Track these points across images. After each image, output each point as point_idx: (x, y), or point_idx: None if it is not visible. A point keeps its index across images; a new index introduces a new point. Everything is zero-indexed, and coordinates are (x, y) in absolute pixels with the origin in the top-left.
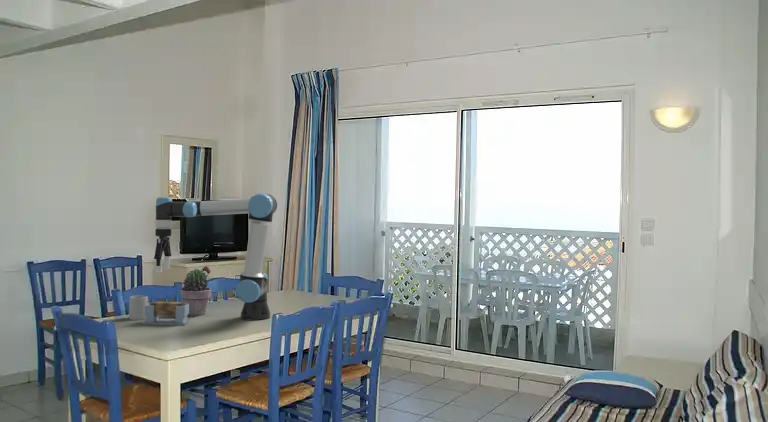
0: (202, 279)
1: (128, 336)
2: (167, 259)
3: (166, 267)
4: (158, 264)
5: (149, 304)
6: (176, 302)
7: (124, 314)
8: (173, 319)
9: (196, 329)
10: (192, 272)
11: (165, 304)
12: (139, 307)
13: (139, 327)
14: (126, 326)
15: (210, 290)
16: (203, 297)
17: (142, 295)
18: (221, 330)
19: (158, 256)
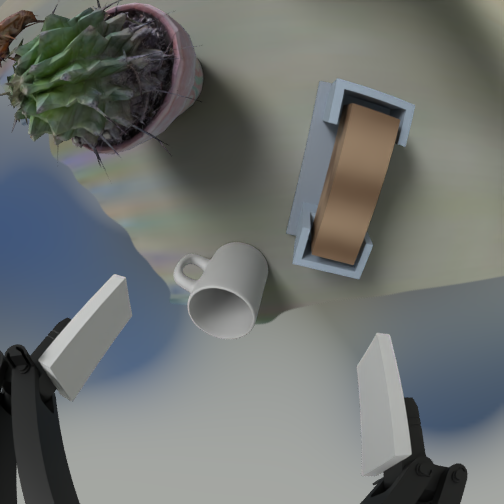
0: (102, 18)
1: (486, 269)
2: (74, 355)
3: (120, 306)
4: (414, 414)
5: (323, 263)
6: (359, 143)
7: (180, 302)
8: (316, 145)
9: (460, 78)
10: (42, 95)
11: (377, 196)
12: (260, 287)
13: (395, 253)
14: (369, 288)
15: (126, 4)
16: (181, 26)
17: (189, 303)
18: (471, 16)
19: (458, 483)
